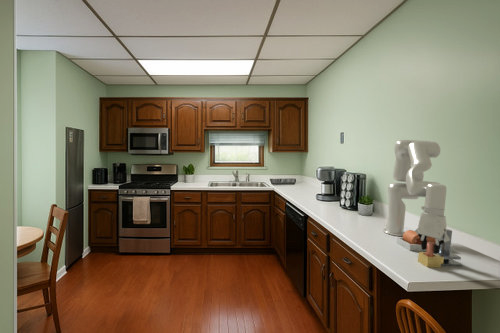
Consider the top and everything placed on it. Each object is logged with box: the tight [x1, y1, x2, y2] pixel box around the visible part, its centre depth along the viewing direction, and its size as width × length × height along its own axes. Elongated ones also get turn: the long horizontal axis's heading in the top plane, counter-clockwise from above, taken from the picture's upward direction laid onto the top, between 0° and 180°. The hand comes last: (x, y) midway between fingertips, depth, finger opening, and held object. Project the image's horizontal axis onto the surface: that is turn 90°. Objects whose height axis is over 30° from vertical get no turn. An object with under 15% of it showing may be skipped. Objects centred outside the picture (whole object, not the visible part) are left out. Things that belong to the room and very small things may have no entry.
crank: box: [402, 229, 436, 245], centre depth 152 cm, size 20×8×8 cm, turn 94°
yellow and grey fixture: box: [417, 228, 463, 268], centre depth 130 cm, size 12×18×15 cm
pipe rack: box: [396, 237, 454, 253], centre depth 151 cm, size 12×24×3 cm, turn 94°
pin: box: [425, 242, 435, 257], centre depth 127 cm, size 3×3×10 cm
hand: (430, 250), depth 126 cm, fingers open, 4 cm apart
